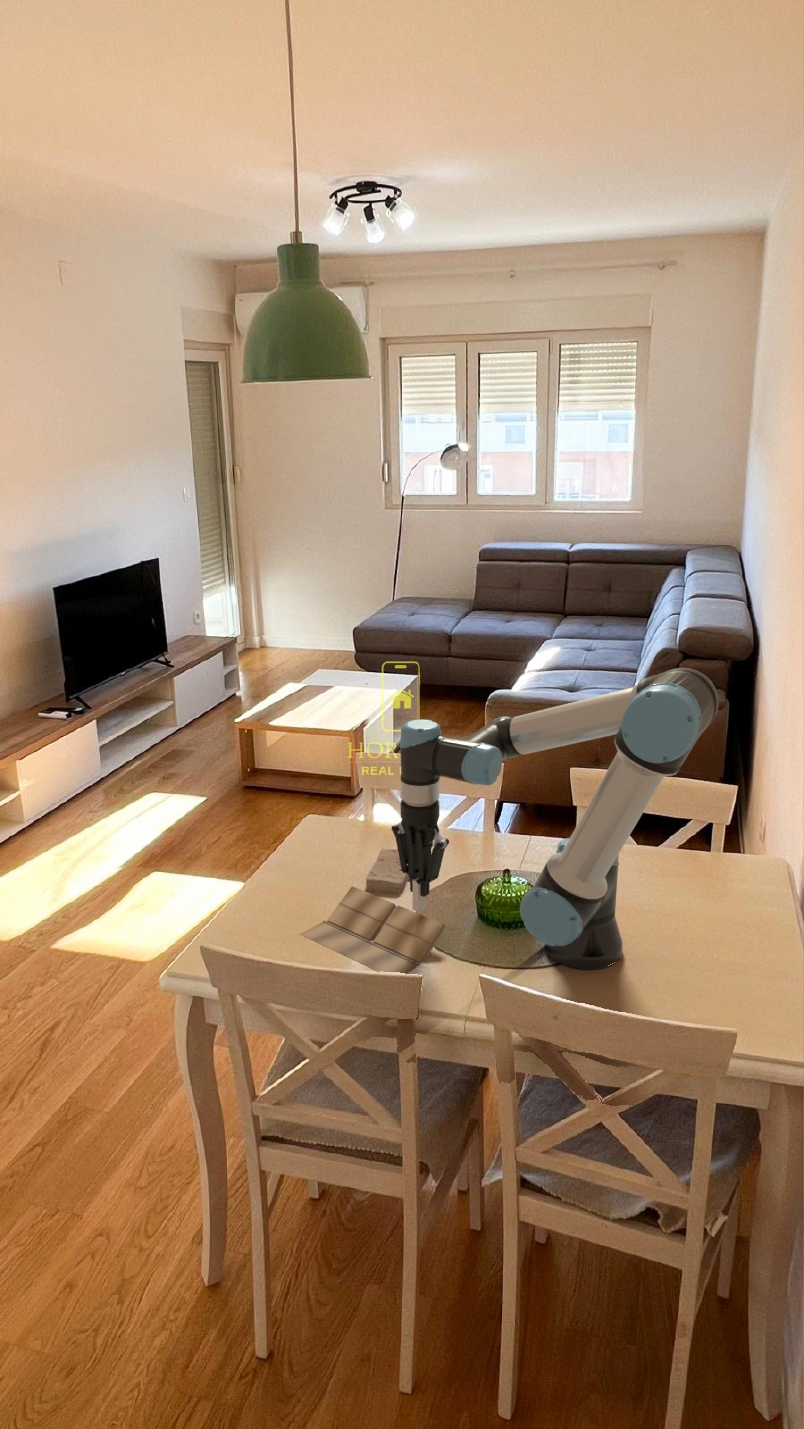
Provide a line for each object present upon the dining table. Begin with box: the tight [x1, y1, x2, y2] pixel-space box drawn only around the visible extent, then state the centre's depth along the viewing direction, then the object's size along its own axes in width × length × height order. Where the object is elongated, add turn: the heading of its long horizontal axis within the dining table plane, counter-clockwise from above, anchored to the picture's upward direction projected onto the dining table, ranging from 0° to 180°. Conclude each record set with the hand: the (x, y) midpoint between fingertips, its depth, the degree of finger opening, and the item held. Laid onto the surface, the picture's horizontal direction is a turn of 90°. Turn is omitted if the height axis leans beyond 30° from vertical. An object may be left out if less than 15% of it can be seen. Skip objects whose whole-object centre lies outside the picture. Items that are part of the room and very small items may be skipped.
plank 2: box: [373, 905, 447, 963], centre depth 197 cm, size 12×9×1 cm
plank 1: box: [327, 885, 397, 941], centre depth 205 cm, size 12×9×1 cm
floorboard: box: [299, 920, 422, 974], centre depth 196 cm, size 26×7×2 cm, turn 49°
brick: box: [365, 848, 410, 895], centre depth 226 cm, size 17×8×5 cm, turn 168°
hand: (419, 907), depth 199 cm, fingers closed
